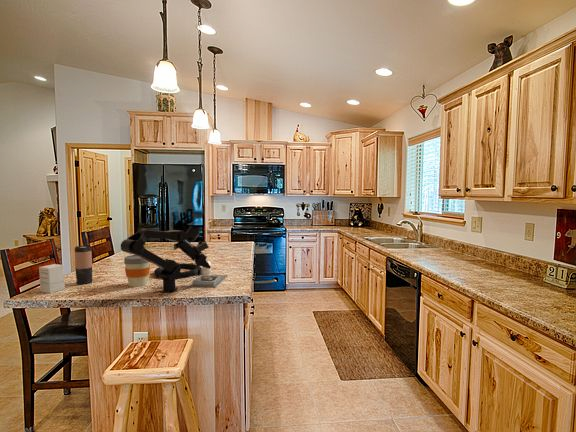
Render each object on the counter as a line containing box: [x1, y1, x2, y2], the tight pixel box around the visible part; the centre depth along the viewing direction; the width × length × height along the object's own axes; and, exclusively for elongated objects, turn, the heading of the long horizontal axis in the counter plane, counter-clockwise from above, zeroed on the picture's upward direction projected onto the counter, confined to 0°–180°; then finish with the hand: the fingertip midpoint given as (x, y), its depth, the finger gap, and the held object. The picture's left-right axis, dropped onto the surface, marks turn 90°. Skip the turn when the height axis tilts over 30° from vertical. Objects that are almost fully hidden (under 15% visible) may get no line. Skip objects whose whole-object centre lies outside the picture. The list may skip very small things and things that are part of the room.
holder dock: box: [189, 274, 228, 288], centre depth 175 cm, size 22×14×3 cm, turn 174°
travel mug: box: [74, 244, 93, 286], centre depth 169 cm, size 8×8×20 cm
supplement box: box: [38, 263, 66, 294], centre depth 156 cm, size 7×7×13 cm
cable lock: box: [153, 262, 203, 279], centre depth 192 cm, size 28×4×30 cm
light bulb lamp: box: [201, 260, 213, 281], centre depth 170 cm, size 6×6×10 cm
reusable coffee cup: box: [123, 254, 151, 288], centre depth 168 cm, size 12×13×15 cm
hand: (209, 267), depth 171 cm, fingers closed on light bulb lamp, 4 cm apart
